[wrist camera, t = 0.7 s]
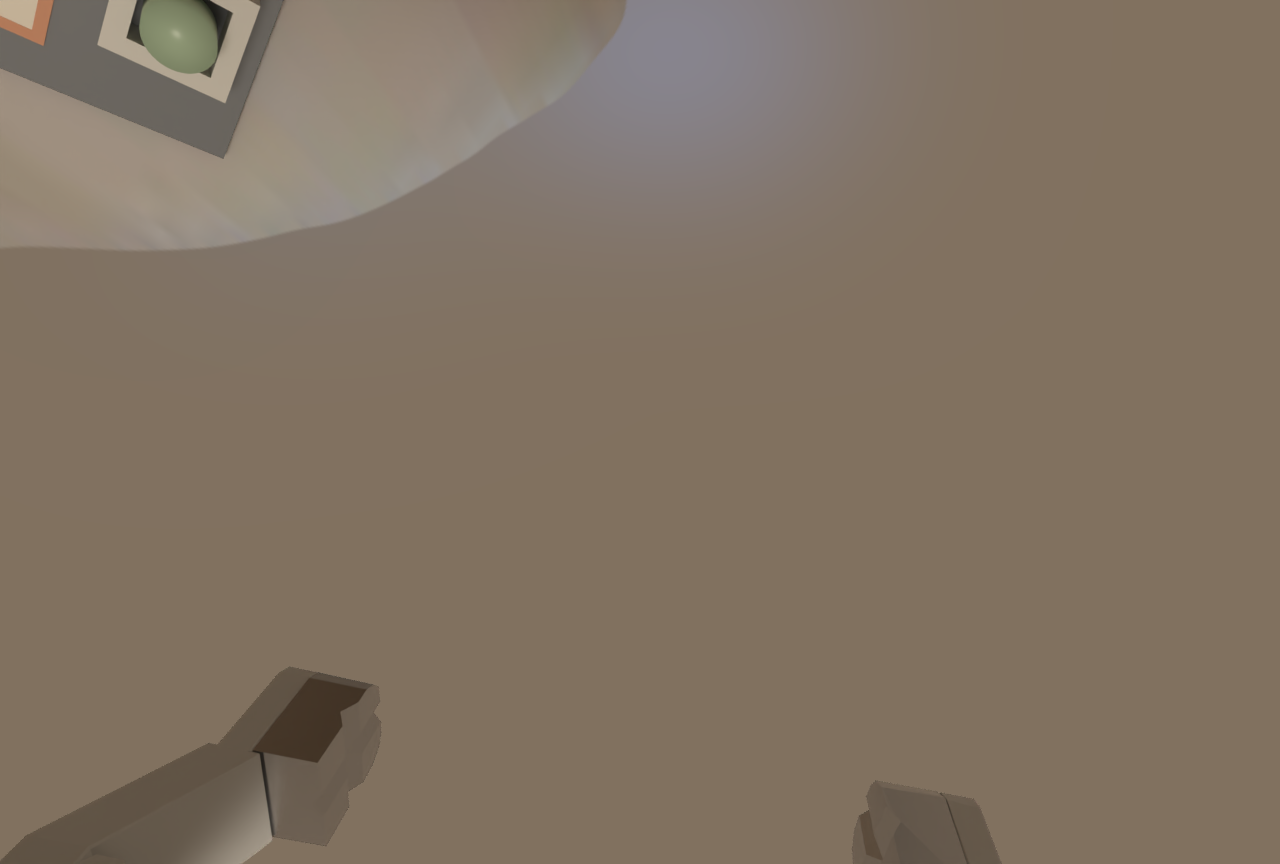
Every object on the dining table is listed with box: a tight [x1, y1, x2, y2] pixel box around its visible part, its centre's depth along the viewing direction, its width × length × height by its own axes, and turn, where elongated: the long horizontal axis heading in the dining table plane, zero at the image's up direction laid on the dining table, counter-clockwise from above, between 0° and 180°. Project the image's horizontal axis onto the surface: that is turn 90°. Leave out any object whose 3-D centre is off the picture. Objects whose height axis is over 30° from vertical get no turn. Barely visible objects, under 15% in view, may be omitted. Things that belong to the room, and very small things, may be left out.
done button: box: [139, 0, 218, 74], centre depth 38 cm, size 4×4×3 cm
